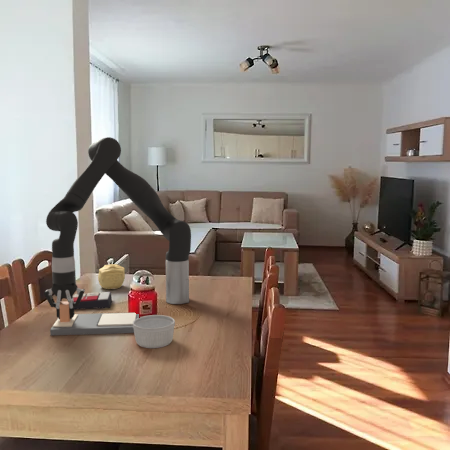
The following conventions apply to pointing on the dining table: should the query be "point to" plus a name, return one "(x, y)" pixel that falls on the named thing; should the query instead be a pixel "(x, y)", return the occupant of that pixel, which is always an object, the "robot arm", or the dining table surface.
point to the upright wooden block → (65, 316)
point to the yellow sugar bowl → (111, 276)
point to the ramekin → (153, 331)
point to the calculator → (94, 300)
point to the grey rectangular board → (98, 324)
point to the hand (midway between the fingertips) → (65, 318)
